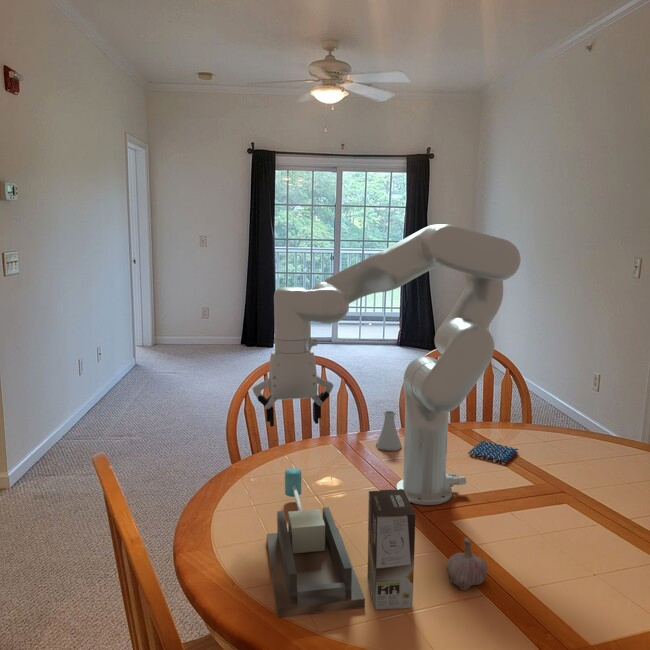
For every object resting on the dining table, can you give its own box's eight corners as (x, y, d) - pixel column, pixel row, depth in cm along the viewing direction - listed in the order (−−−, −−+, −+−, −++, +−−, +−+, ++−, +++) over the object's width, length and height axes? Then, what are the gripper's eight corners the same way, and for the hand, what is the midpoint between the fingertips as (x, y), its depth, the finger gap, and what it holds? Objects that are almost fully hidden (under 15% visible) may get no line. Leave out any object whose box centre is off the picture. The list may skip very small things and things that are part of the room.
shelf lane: (337, 534, 111) (337, 503, 110) (364, 607, 90) (365, 570, 89) (266, 540, 109) (266, 509, 108) (277, 617, 87) (277, 579, 86)
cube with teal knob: (305, 489, 126) (305, 467, 126) (324, 550, 102) (325, 524, 102) (278, 491, 125) (278, 469, 125) (292, 553, 101) (292, 527, 101)
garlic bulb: (460, 598, 92) (463, 554, 91) (435, 573, 99) (437, 531, 98) (497, 587, 95) (500, 543, 94) (470, 563, 102) (472, 522, 101)
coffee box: (414, 608, 90) (417, 515, 87) (374, 610, 89) (376, 517, 86) (401, 573, 99) (404, 488, 96) (365, 575, 98) (367, 489, 95)
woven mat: (480, 445, 158) (481, 439, 158) (518, 455, 152) (519, 447, 152) (466, 457, 150) (466, 450, 150) (505, 467, 144) (506, 460, 143)
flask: (400, 452, 152) (401, 417, 150) (374, 450, 153) (374, 415, 151) (402, 443, 159) (403, 409, 157) (377, 440, 160) (377, 407, 158)
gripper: (329, 340, 124) (329, 414, 127) (250, 343, 121) (252, 419, 124) (336, 347, 116) (336, 426, 119) (252, 351, 113) (254, 431, 116)
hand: (293, 423), depth 122 cm, fingers open, 9 cm apart
